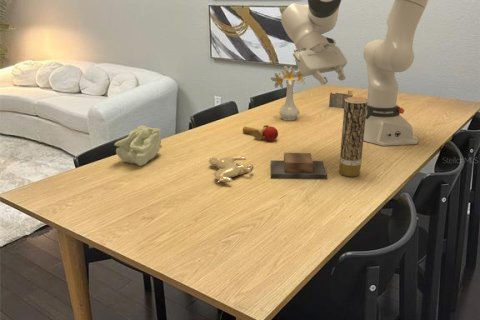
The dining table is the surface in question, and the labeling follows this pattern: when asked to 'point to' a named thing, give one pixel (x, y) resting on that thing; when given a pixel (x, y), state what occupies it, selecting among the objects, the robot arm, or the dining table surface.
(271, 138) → the kendama
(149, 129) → the folded clay sculpture
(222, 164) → the unicorn
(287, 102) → the flower vase
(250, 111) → the dining table surface
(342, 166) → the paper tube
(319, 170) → the plinth
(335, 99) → the ruin model on sheet
